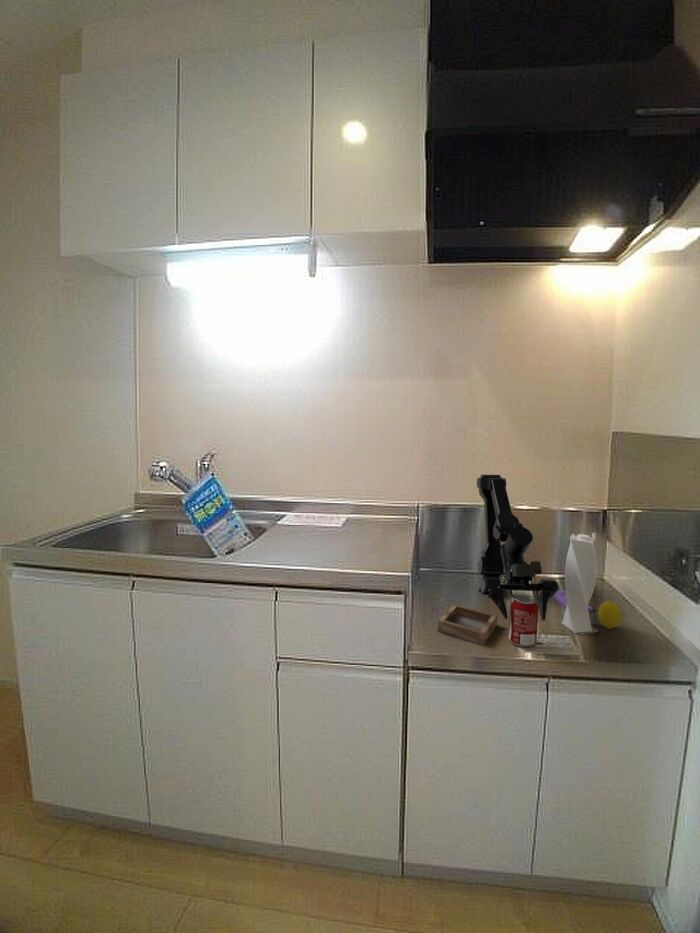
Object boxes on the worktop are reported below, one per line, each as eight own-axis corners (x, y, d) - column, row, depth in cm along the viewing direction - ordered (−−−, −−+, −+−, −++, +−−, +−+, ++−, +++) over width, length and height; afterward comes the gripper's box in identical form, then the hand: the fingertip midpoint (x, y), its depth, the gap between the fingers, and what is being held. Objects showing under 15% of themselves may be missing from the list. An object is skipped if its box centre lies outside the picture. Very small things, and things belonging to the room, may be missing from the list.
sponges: (569, 595, 140) (570, 590, 140) (592, 613, 127) (592, 607, 127) (548, 595, 140) (549, 590, 139) (569, 613, 127) (569, 607, 127)
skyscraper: (601, 635, 114) (610, 533, 110) (574, 637, 112) (582, 534, 109) (580, 620, 122) (587, 525, 119) (554, 622, 121) (560, 526, 117)
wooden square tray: (454, 613, 126) (454, 604, 125) (496, 625, 119) (497, 615, 118) (437, 631, 116) (437, 620, 115) (483, 645, 109) (483, 634, 108)
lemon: (617, 625, 119) (619, 598, 118) (622, 635, 114) (625, 606, 113) (594, 622, 121) (596, 595, 120) (599, 631, 116) (601, 603, 115)
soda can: (538, 650, 106) (541, 604, 105) (510, 647, 108) (512, 602, 106) (533, 636, 113) (535, 593, 111) (506, 634, 114) (508, 591, 113)
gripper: (485, 548, 112) (494, 606, 102) (558, 550, 111) (574, 609, 101) (477, 566, 121) (485, 622, 111) (545, 568, 119) (559, 625, 110)
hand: (525, 619), depth 108 cm, fingers open, 9 cm apart
